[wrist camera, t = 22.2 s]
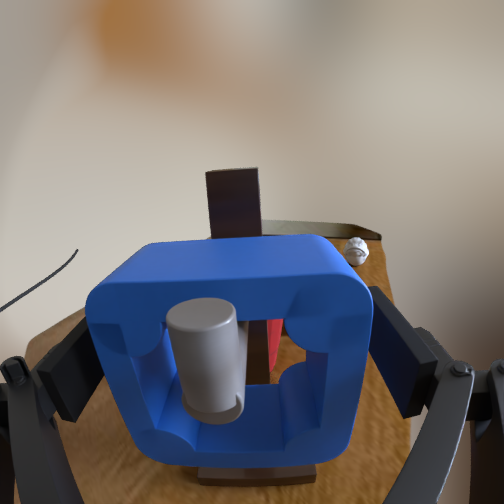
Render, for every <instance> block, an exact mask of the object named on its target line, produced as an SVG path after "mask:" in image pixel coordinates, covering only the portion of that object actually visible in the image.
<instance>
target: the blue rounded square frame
mask: <svg viewBox="0 0 504 504" xmlns="http://www.w3.org/2000/svg"><path fill="white" fill-rule="evenodd" d="M197 298H219V299H223V300H226V301H228V302H230V303H231V304H232V305H233V306H234V308H235V310H236V317H237V321H253V320H273V319H283V320H284V325H285V329H286V331H287V334H288V335H289V337H290V338H291V340H292V341H293V342H294V343H295V344H297V345H298V346H299V347H301V348H303V349H305V350H306V362H300V363H297V364H294V365H292V366H290V367H289V368H287V369H286V370H285V371H284V372H283V373H282V375H281V377H280V379H279V384H264V385H245V398H244V409H243V412H242V413H241V415H240V416H239V417H238V418H237V419H236V420H234V421H232V422H230V423H227V424H221V425H213V424H207V423H203V422H201V421H198V420H196V419H194V418H193V417H192V416H190V415H189V414H188V413H187V412H186V410H185V409H184V407H183V404H182V393H183V391H182V387H181V384H180V380H179V376H178V372H177V368H176V364H175V360H174V355H173V351H172V347H171V343H170V338H169V334H168V329H167V324H166V315H167V313H168V311H169V310H170V309H171V308H172V307H174V306H175V305H177V304H179V303H182V302H184V301H188V300H192V299H197ZM85 315H86V320H87V324H88V327H89V330H90V334H91V337H92V340H93V343H94V346H95V349H96V352H97V355H98V358H99V360H100V363H101V366H102V369H103V371H104V374H105V377H106V379H107V382H108V384H109V387H110V389H111V392H112V394H113V397H114V399H115V401H116V404H117V406H118V408H119V411H120V413H121V415H122V417H123V419H124V422H125V424H126V426H127V428H128V430H129V432H130V434H131V436H132V438H133V440H134V442H135V444H136V446H137V448H138V449H139V450H140V451H141V452H142V453H143V454H145V455H146V456H148V457H149V458H151V459H153V460H155V461H158V462H161V463H165V464H170V465H182V466H195V467H212V468H271V467H288V466H300V465H310V464H318V463H323V462H326V461H329V460H331V459H334V458H335V457H337V456H339V455H340V454H341V453H343V452H344V451H345V449H346V448H347V446H348V444H349V442H350V438H351V434H352V430H353V426H354V421H355V417H356V413H357V408H358V403H359V398H360V393H361V388H362V383H363V378H364V372H365V366H366V360H367V354H368V348H369V341H370V334H371V326H372V319H373V300H372V296H371V293H370V291H369V289H368V288H367V286H366V285H365V284H364V282H363V281H362V280H361V279H360V277H359V276H358V275H357V274H356V273H355V271H354V270H353V269H352V268H351V266H350V265H349V264H348V263H347V262H346V260H345V259H344V258H343V257H342V256H341V254H340V253H339V252H338V251H337V250H336V249H335V247H334V246H333V245H332V244H331V243H330V242H329V241H328V240H326V239H325V238H323V237H321V236H318V235H313V234H300V235H280V236H261V237H242V238H224V239H207V240H191V241H174V242H159V243H151V244H148V245H145V246H144V247H142V248H141V249H140V250H138V251H137V252H136V253H135V254H134V255H132V256H131V257H130V258H129V259H128V260H126V261H125V262H124V263H123V264H122V265H120V266H119V267H118V268H117V269H116V270H115V271H113V272H112V273H111V274H110V275H109V276H107V277H106V278H105V279H104V280H103V281H102V282H100V283H99V284H98V285H97V286H96V287H95V288H94V289H93V290H92V291H91V292H90V293H89V295H88V297H87V300H86V305H85Z"/></svg>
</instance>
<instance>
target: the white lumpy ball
mask: <svg viewBox="0 0 504 504" xmlns="http://www.w3.org/2000/svg"><path fill="white" fill-rule="evenodd" d="M343 252H344V255H345V257H346V259H347V261H348V262H349V263H350V264H351V265H354V266H358V265H361V264H362V263H364V261H365V259H366V257H367V256H368V253H369V251H368V250H367V245H366V244H365V242H364V240H361V239H360V238H352V239H350V240H348V242H347V244H346V245H345V249H344V250H343Z"/></svg>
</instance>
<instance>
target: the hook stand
mask: <svg viewBox="0 0 504 504" xmlns="http://www.w3.org/2000/svg"><path fill="white" fill-rule="evenodd" d="M205 175H206V187H207V198H208V209H209V219H210V229H211V239H224V238H242V237H261V236H262V220H261V204H260V189H259V174H258V167H249V168H235V169H223V170H212V171H208V172H206V173H205ZM166 324H167V329H168V334H169V338H170V343H171V347H172V351H173V355H174V360H175V364H176V368H177V372H178V376H179V380H180V384H181V387H182V391H183V393H182V404H183V407H184V409H185V410H186V412H187V413H188V414H189V415H190V416H192V417H193V418H194V419H196V420H198V421H201V422H203V423H207V424H213V425H221V424H227V423H230V422H232V421H234V420H236V419H237V418H238V417H239V416H240V415H241V413H242V412H243V409H244V398H245V385H264V384H270V363H269V343H268V324H267V320H253V321H237V317H236V310H235V308H234V306H233V305H232V304H231V303H230V302H228V301H226V300H223V299H219V298H197V299H192V300H188V301H184V302H182V303H179V304H177V305H175V306H174V307H172V308H171V309H170V310H169V311H168V313H167V315H166ZM316 475H317V473H316V466H315V464H310V465H300V466H288V467H271V468H212V467H199V469H198V474H197V478H198V481H199V483H200V485H208V486H276V485H291V484H302V483H312V482H315V481H316Z"/></svg>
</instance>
